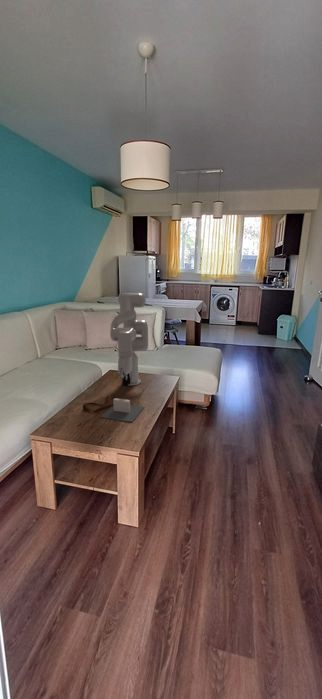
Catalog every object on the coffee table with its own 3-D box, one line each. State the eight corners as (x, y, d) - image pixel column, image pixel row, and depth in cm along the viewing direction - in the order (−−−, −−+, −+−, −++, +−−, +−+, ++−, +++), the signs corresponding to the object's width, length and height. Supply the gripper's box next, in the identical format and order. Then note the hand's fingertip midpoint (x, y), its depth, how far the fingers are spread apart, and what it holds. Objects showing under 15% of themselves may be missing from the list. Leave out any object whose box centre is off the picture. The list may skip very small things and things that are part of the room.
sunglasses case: (91, 414, 177) (86, 402, 178) (85, 416, 182) (81, 405, 183) (117, 404, 189) (113, 393, 190) (111, 406, 195) (107, 396, 195)
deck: (115, 408, 182) (115, 398, 180) (130, 410, 179) (130, 400, 178) (113, 410, 180) (113, 399, 178) (129, 412, 177) (128, 401, 176)
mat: (115, 403, 190) (115, 402, 190) (144, 407, 184) (144, 406, 184) (100, 417, 173) (100, 416, 173) (132, 422, 168) (132, 421, 168)
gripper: (124, 349, 186) (126, 379, 191) (112, 357, 172) (114, 389, 177) (137, 350, 184) (138, 380, 189) (125, 358, 169) (127, 391, 174)
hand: (126, 384), depth 183 cm, fingers open, 2 cm apart
